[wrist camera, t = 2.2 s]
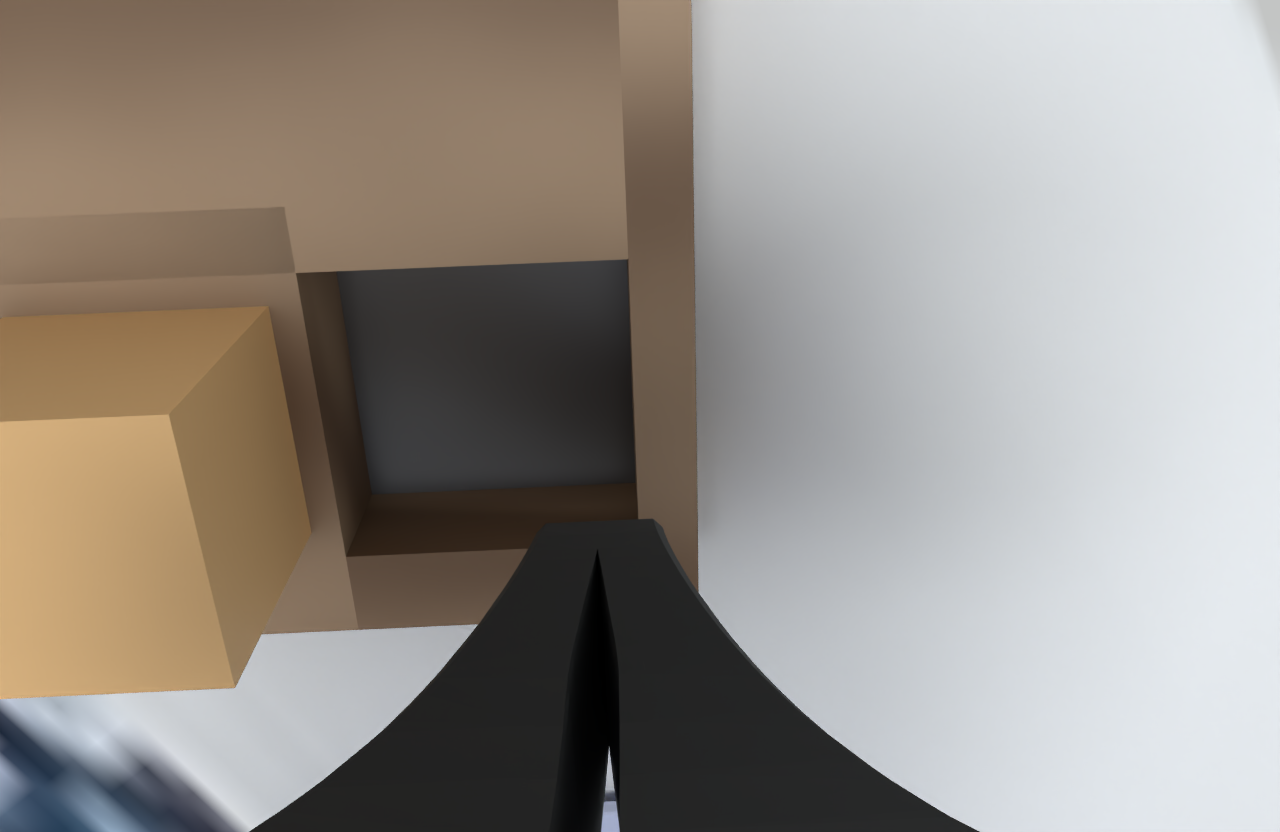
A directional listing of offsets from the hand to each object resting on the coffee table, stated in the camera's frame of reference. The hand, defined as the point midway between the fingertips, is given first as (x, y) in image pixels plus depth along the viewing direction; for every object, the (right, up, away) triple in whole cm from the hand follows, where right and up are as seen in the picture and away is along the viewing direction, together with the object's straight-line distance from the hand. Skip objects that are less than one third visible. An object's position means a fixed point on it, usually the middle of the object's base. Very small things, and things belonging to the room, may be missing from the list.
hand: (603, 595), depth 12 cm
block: (-7, +2, +5) cm, 9 cm away
